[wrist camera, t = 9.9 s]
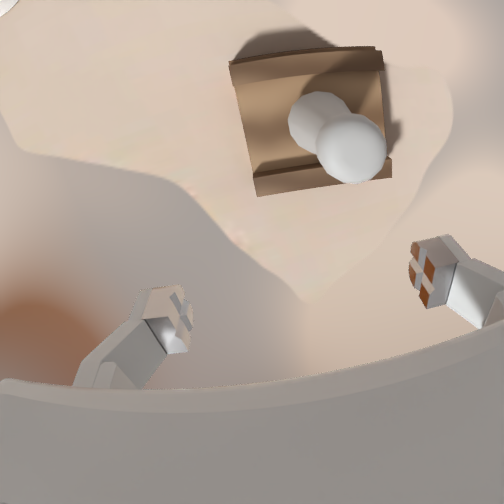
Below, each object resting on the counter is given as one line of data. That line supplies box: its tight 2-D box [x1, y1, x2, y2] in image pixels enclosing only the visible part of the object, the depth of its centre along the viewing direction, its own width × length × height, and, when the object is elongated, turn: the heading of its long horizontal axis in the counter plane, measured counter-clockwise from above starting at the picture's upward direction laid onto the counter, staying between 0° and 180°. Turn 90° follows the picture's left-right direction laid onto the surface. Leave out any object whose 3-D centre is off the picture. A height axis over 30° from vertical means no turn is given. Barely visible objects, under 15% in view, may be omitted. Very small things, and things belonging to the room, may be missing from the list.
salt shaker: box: [288, 91, 387, 184], centre depth 21 cm, size 6×6×13 cm
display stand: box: [229, 46, 392, 197], centre depth 27 cm, size 14×14×4 cm
